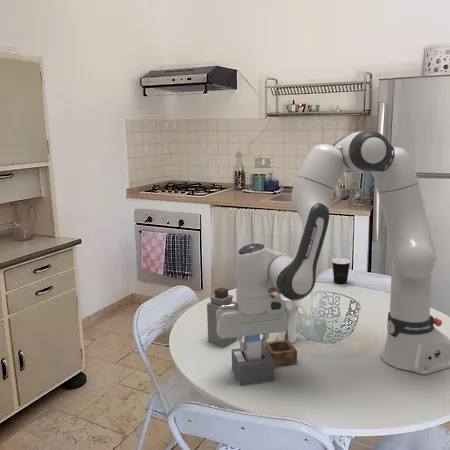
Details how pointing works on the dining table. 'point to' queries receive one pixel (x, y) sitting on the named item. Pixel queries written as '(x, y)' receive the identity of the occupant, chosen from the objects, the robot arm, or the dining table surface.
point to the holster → (282, 352)
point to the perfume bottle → (216, 302)
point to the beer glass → (289, 319)
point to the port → (253, 367)
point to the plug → (252, 347)
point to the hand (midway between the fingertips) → (252, 348)
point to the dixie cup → (340, 271)
